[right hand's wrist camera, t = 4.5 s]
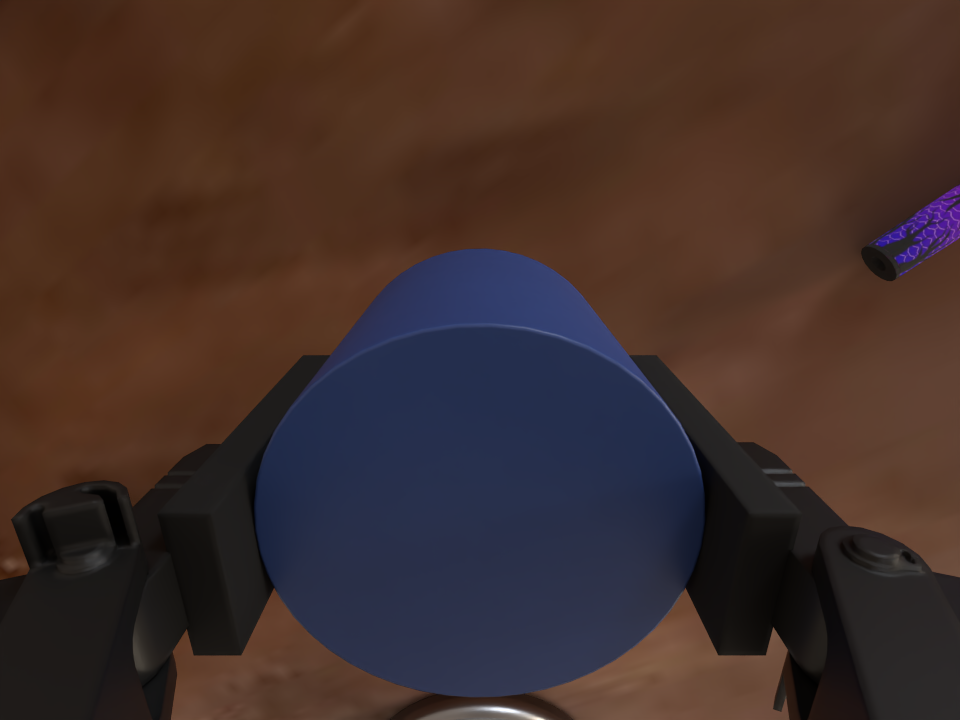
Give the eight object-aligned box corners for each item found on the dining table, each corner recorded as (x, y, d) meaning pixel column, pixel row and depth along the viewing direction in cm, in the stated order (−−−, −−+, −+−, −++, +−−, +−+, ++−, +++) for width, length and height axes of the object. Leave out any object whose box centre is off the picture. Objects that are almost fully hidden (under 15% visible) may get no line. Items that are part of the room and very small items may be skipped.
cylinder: (653, 406, 16) (782, 583, 9) (451, 524, 17) (433, 750, 11) (515, 190, 14) (550, 216, 7) (298, 347, 15) (154, 492, 8)
